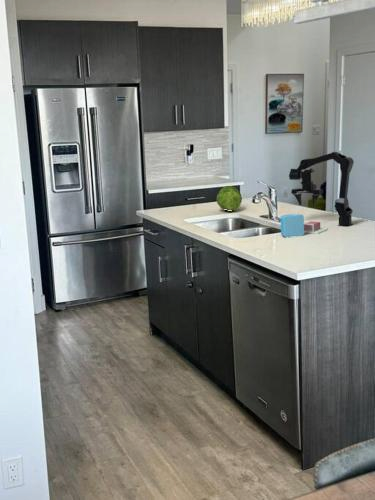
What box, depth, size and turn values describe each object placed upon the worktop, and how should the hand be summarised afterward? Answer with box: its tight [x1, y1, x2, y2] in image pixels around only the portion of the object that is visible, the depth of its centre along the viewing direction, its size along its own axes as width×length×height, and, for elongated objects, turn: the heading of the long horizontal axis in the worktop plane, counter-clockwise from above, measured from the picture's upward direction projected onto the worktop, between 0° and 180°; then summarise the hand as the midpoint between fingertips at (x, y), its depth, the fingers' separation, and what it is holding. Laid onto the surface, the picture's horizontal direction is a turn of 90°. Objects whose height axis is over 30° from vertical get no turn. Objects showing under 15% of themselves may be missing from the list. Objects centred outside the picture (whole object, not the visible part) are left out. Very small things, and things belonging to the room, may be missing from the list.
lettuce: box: [216, 185, 243, 211], centre depth 431 cm, size 18×23×19 cm
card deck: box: [304, 221, 321, 232], centre depth 343 cm, size 6×9×4 cm, turn 140°
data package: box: [280, 213, 305, 238], centre depth 332 cm, size 12×4×12 cm, turn 105°
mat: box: [304, 227, 329, 235], centre depth 343 cm, size 14×12×1 cm
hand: (307, 205), depth 365 cm, fingers open, 9 cm apart
